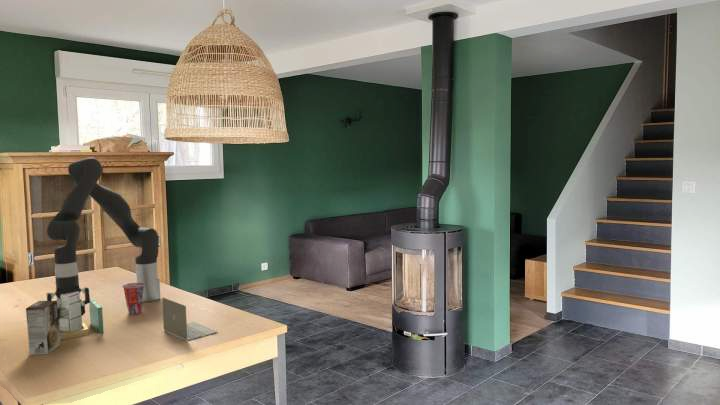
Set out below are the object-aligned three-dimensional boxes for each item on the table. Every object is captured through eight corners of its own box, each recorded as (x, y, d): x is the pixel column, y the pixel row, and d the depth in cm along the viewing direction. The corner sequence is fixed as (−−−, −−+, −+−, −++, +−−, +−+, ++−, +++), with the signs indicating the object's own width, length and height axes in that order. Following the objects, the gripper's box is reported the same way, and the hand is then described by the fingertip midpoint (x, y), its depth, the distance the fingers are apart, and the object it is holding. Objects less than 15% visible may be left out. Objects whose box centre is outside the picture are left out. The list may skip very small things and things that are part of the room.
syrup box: (83, 328, 206) (80, 290, 204) (70, 333, 200) (67, 294, 199) (71, 327, 208) (68, 289, 206) (58, 331, 202) (55, 293, 201)
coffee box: (41, 345, 191) (38, 300, 190) (61, 344, 191) (57, 299, 190) (28, 355, 182) (24, 307, 181) (48, 354, 182) (45, 307, 181)
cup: (150, 311, 232) (148, 283, 230) (134, 316, 224) (132, 288, 223) (134, 309, 235) (132, 281, 234) (118, 314, 228) (116, 286, 227)
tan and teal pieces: (94, 323, 216) (93, 298, 215) (103, 333, 203) (102, 307, 202) (51, 331, 207) (49, 305, 206) (58, 342, 194) (56, 314, 193)
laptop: (218, 333, 201) (216, 298, 200) (186, 342, 192) (184, 306, 191) (194, 323, 214) (192, 290, 213) (163, 331, 205) (161, 297, 204)
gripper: (86, 269, 209) (88, 311, 211) (43, 275, 201) (46, 319, 202) (89, 273, 203) (92, 316, 205) (46, 279, 195) (49, 323, 196)
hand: (69, 317), depth 203 cm, fingers closed on syrup box, 7 cm apart
